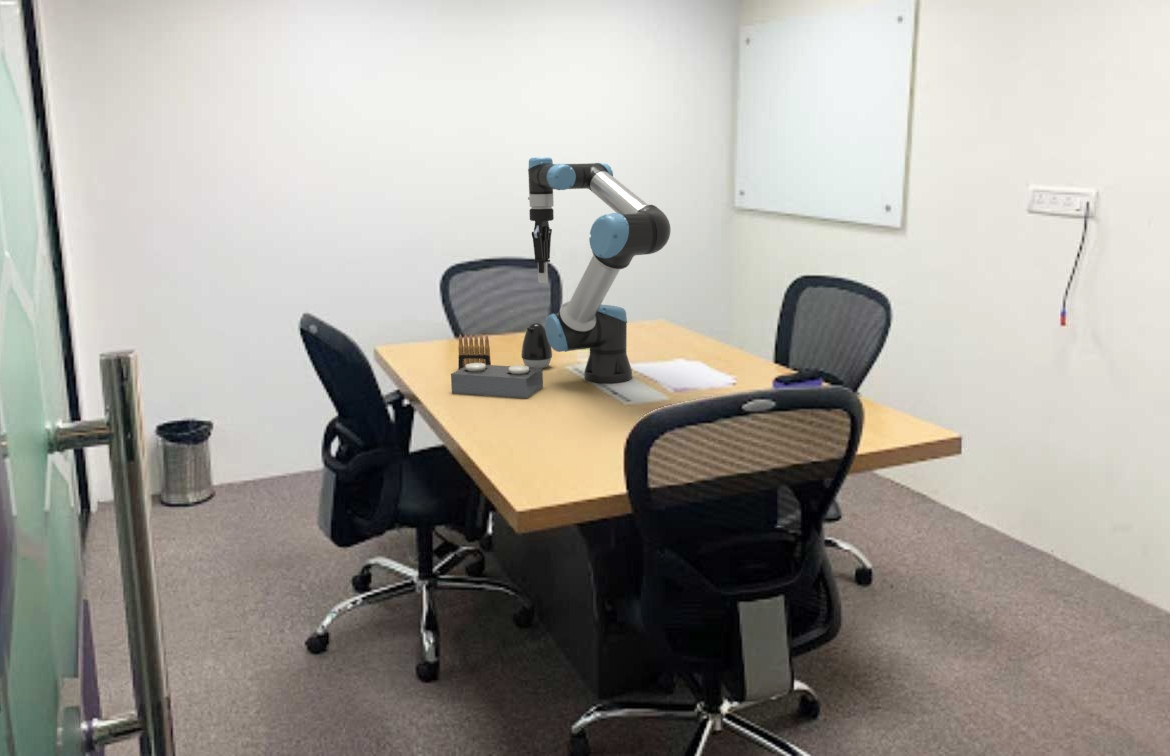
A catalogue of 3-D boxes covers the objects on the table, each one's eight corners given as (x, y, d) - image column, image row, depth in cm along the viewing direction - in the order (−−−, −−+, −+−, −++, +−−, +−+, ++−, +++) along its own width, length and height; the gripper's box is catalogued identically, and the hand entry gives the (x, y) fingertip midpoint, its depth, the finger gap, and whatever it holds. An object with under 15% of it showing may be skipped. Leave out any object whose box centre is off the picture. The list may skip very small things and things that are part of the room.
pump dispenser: (515, 369, 311) (514, 324, 307) (531, 362, 320) (530, 319, 316) (542, 372, 306) (541, 326, 303) (557, 365, 315) (557, 321, 312)
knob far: (489, 385, 288) (488, 363, 286) (481, 390, 282) (480, 367, 280) (471, 384, 289) (470, 362, 288) (463, 389, 284) (462, 366, 282)
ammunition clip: (458, 370, 311) (456, 334, 308) (459, 368, 313) (458, 333, 310) (490, 370, 310) (488, 334, 307) (491, 369, 312) (490, 333, 309)
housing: (542, 387, 287) (542, 368, 285) (526, 398, 274) (526, 378, 272) (470, 382, 294) (469, 363, 292) (451, 393, 281) (450, 373, 279)
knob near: (532, 388, 284) (531, 366, 282) (525, 393, 278) (524, 370, 276) (513, 387, 285) (513, 364, 284) (506, 392, 280) (505, 369, 278)
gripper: (537, 206, 301) (538, 279, 306) (522, 209, 289) (524, 285, 294) (559, 206, 299) (560, 280, 304) (546, 209, 286) (547, 286, 292)
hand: (542, 282), depth 299 cm, fingers closed
